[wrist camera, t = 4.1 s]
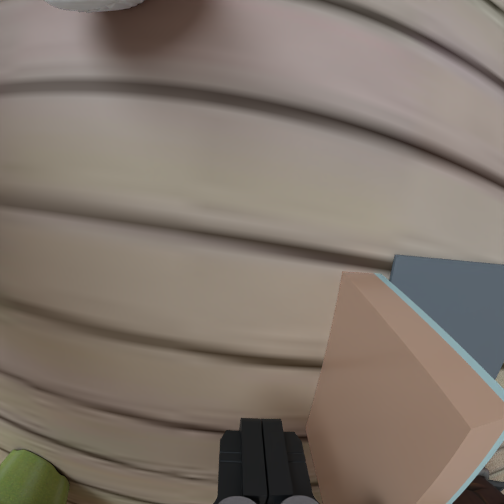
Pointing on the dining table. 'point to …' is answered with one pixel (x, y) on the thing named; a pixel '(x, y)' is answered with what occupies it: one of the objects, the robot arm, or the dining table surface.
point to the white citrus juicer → (93, 5)
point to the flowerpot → (480, 491)
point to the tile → (398, 403)
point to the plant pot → (31, 480)
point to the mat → (459, 302)
